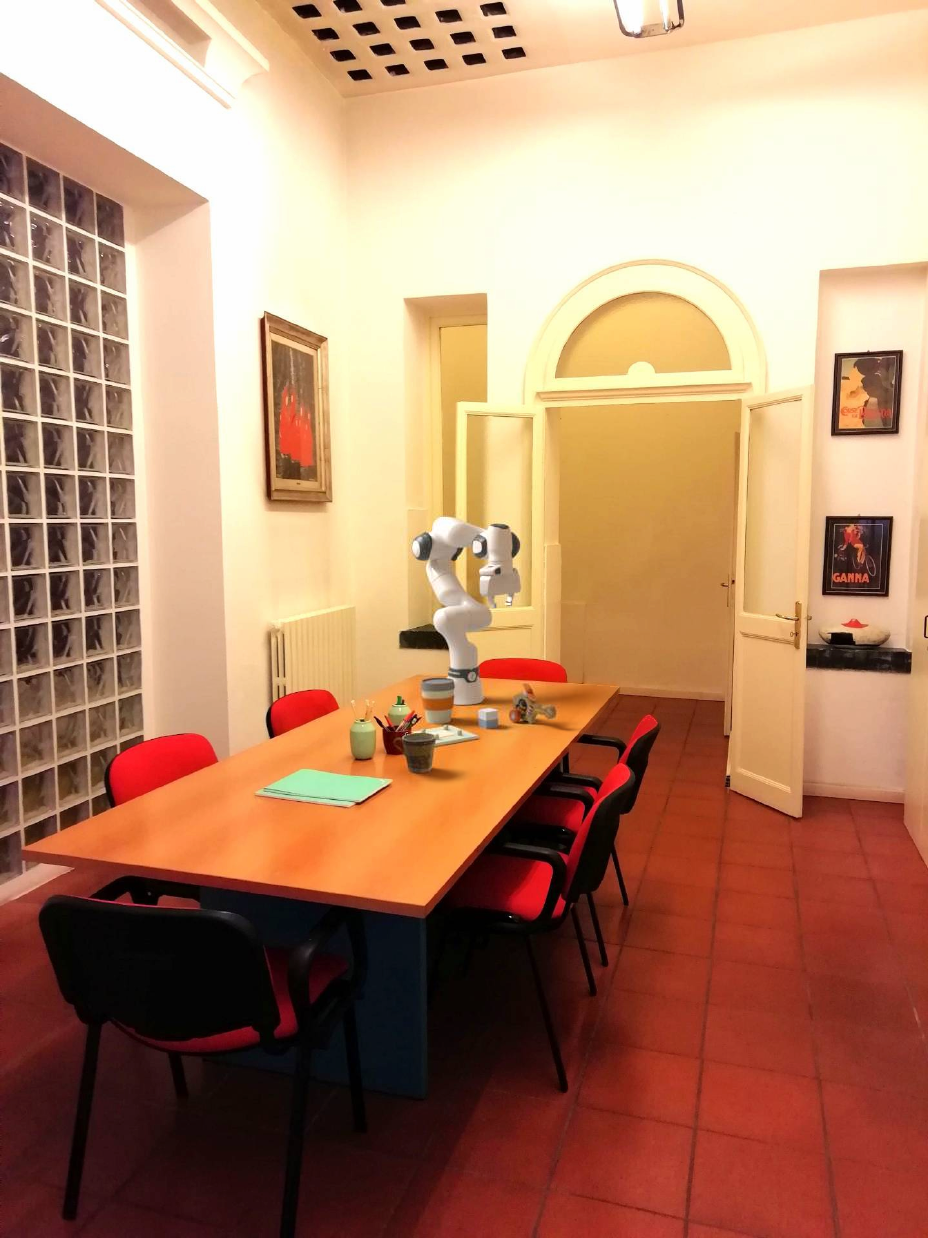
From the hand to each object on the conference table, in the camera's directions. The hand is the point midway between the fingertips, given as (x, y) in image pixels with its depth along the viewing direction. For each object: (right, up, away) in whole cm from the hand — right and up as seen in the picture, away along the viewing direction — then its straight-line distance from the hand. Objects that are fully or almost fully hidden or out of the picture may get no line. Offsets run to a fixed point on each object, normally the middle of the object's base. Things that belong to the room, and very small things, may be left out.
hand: (501, 607), depth 317 cm
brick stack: (-5, -43, -7) cm, 43 cm away
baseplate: (-21, -45, -20) cm, 53 cm away
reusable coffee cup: (-23, -42, +3) cm, 48 cm away
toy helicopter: (+11, -42, -4) cm, 44 cm away
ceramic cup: (-28, -49, -57) cm, 80 cm away
